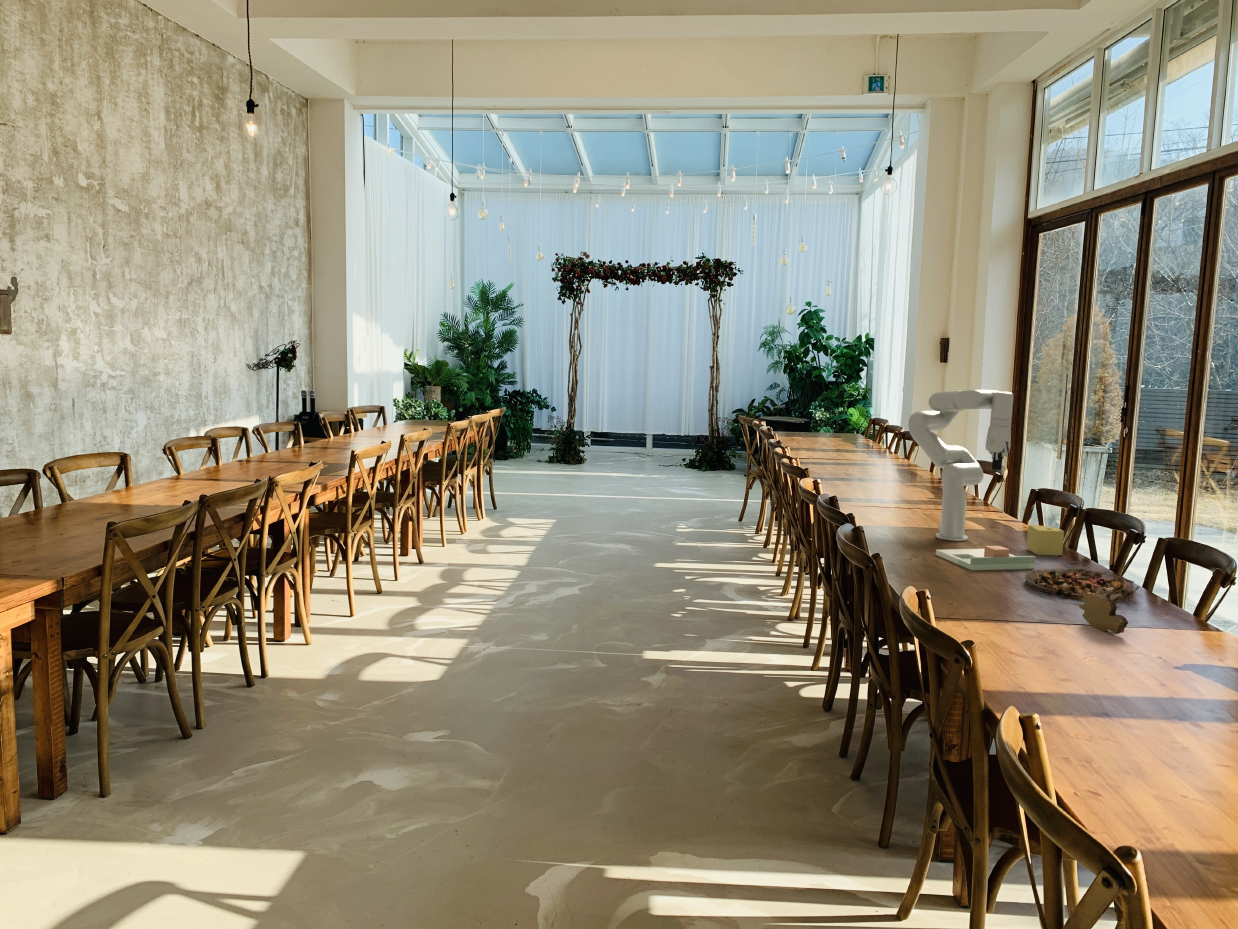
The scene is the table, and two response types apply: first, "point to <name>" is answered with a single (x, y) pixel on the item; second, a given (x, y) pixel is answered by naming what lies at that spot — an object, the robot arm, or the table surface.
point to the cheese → (1045, 540)
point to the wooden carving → (1103, 614)
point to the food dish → (1078, 584)
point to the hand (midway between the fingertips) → (996, 469)
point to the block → (996, 551)
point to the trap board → (985, 560)
